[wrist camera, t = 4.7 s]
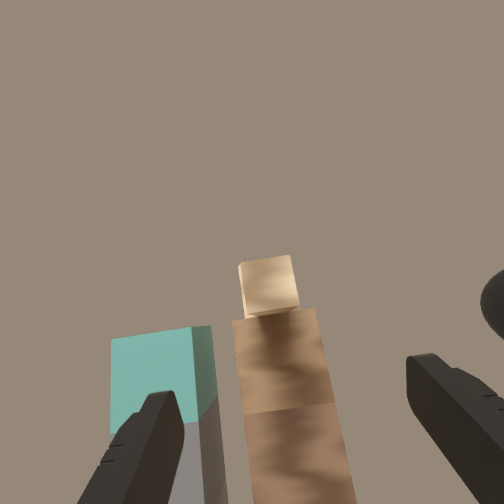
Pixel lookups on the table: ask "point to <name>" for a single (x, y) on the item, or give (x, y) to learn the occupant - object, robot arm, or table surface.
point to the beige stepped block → (268, 286)
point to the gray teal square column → (188, 398)
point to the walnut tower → (290, 412)
